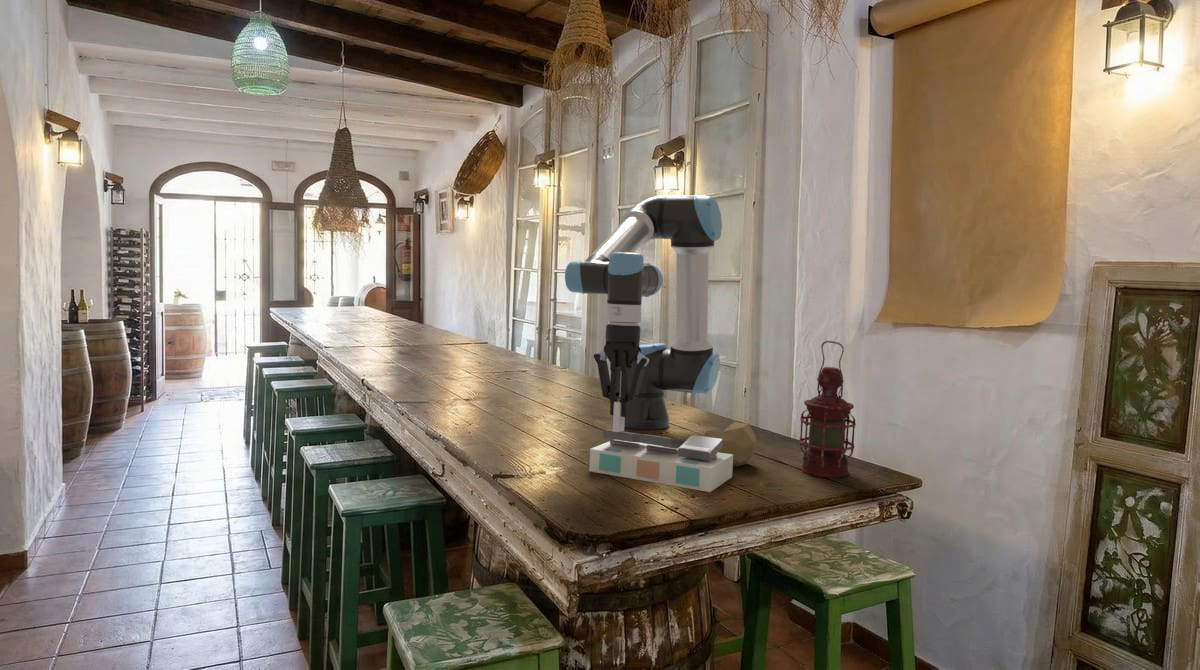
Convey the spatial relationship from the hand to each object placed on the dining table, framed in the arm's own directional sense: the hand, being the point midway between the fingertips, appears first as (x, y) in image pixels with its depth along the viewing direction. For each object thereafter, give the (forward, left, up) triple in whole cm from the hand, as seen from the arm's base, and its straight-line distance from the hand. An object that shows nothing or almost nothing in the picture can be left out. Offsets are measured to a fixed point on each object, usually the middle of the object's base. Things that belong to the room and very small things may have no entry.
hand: (618, 430), depth 176 cm
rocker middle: (-4, +9, -2) cm, 10 cm away
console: (-4, +9, -9) cm, 13 cm away
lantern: (-28, +39, -9) cm, 49 cm away
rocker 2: (-4, +18, -2) cm, 18 cm away
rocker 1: (-4, 0, -2) cm, 4 cm away
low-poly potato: (-21, +18, -9) cm, 29 cm away
